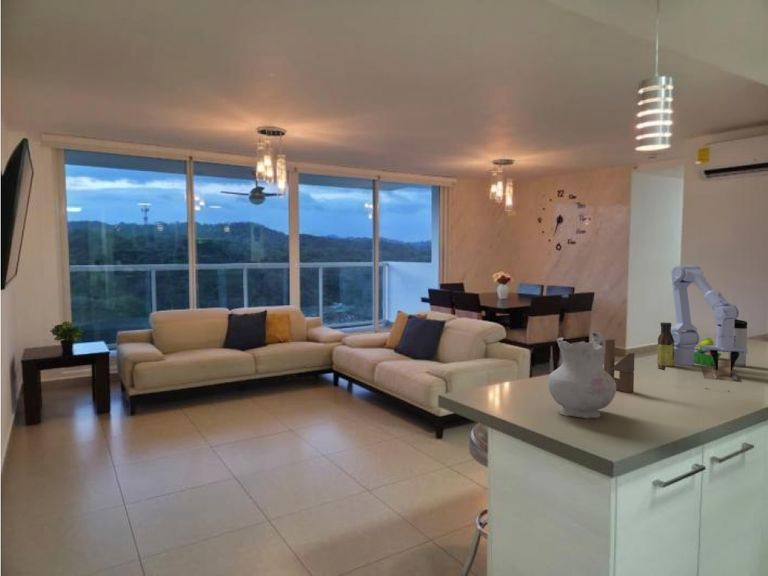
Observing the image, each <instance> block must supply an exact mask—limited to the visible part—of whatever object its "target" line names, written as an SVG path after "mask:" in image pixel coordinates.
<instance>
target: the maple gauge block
mask: <svg viewBox="0 0 768 576" xmlns="http://www.w3.org/2000/svg"><path fill="white" fill-rule="evenodd" d="M730 372H731V360H730V359H728V358H725V357H719V358H718V370H717V371H716V373H717V374H718V375H722V376H730Z"/></svg>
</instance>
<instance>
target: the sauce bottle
mask: <svg viewBox="0 0 768 576" xmlns="http://www.w3.org/2000/svg"><path fill="white" fill-rule="evenodd" d="M671 329H672V322H669V321H661V322H660V334H659V335H658V338H657V368H658V369H660V370H666V367H667V368H670V367H671V368H672V367H674V366H675V364H674V339H673V336H672V331H671Z"/></svg>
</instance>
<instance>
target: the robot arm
mask: <svg viewBox="0 0 768 576" xmlns="http://www.w3.org/2000/svg"><path fill="white" fill-rule="evenodd" d="M670 275H671V282H672V284H671V286H672V295H673V305H674V312H675V322H676V324H675V326H673V327H671V334H672V336H673V339H674V365H679V366H688V367H689V366H694V365H695V363H694V349H695V348H697V345H698V344H700V343H699V342H700V338H701V337H700V335H699V333H698V329H697V327H696V326H695V325H693V324H692V320H691V319H692V318H691V311H690V303H689V293H688V287H689V286H690V285H692V284H694V285H695V286H696V287H697V289H699V290H700V292H702V293H703V295H704V300H705V301H706V303H707V305H708V306H709V307H710V308H711V309H712V310H713V312H712V315H713V317H714V321H715V324H716V330H715V331H716V334H715V335H716V336H715V345H714V344H713V345H702V350H703V351H710V353H711V355H712V357H713V360H714V363H715V365H714V368H715V369H716V370H718V353H721V352H722V353H729V352H731V353H730V360H731V371H732V370H734V367H735V366H734V364H735V362H736V360H737V358H738V357H739V353H744V354H746V355H748V350H749V349H748V348H747V347H746V348H739V347H733V345H734V320H735V319H738V318H739V313H740V312H739V309H738V307H737V306H736V305H735V304H731V303H730V302H729V301H727V299H725V297H724V296H723V294H722V292H721V291H719V290H715V289H713V287H712V285H710V283H709V281H708V280H707V279H706V277H705V276H704V270H703V269H702V267H701V266H700V265H698V264H693V265H692V264H690V265H689V264H687V265H686V264H685V265H680V264H677V265H674V267H673V268H672V270H671V271H670Z"/></svg>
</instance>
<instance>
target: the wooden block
mask: <svg viewBox="0 0 768 576" xmlns="http://www.w3.org/2000/svg"><path fill="white" fill-rule="evenodd" d="M604 341H605V355H604V363H603V369H604V370H605V371H606V372H607V373H608V374H609V375H611V377H612V378H613V379H614V381H615V383H616V391H618V390H619V392H622V391H623V393H626V392H627V393H626V394H629V392H630V393H632V391H633V392H634V388H635V387H634V385H635V384H634V383H635V381H634V380H635V352H631V353H627V354H626V355H625V356H624V357H623V358H621V359H620V360H619V361H618V362H617V363H616V361H615V360H616V359H615V358H616V356H615V355H616V339H615V338H604ZM615 363H616V364H615ZM615 371H617V372H618V373H619V374H618V375H619V377H615Z"/></svg>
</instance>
